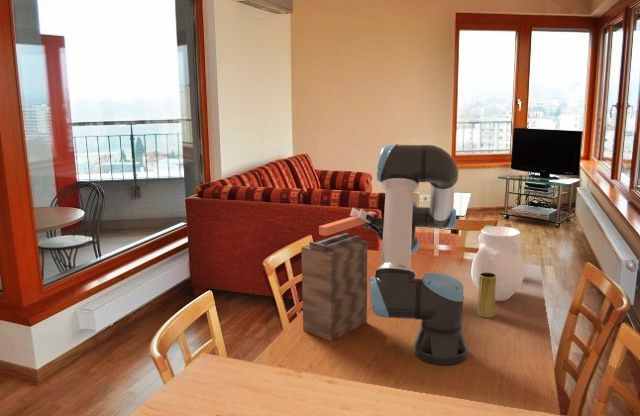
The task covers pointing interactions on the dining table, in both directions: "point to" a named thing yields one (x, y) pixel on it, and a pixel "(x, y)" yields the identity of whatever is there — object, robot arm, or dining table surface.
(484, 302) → the vase
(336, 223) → the lever bar
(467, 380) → the dining table surface
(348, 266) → the stand
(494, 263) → the pitcher
